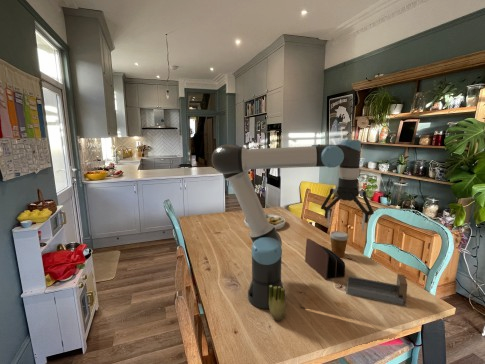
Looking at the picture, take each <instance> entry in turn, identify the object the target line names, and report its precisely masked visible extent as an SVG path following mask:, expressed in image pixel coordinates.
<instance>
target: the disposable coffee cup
mask: <svg viewBox="0 0 485 364" xmlns="http://www.w3.org/2000/svg"><path fill="white" fill-rule="evenodd" d="M329 238H330V243H331V251H332V252H334V253H335V254H336V255H337V256H338V257H340V258H342V257H345V255H346V248H347V243H348V239H349V235H348V233H346V232H344V231H338V230H334V231H333V230H332V231H331V232H330V234H329Z"/></svg>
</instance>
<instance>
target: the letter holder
mask: <svg viewBox="0 0 485 364" xmlns="http://www.w3.org/2000/svg"><path fill="white" fill-rule="evenodd" d="M304 262H305V263H307V265H308V266H309V267H311V268H312V270H313V271H315V272H317V274H319V276H321V277H322V278H323V280H325V281H330V280H337V279H343V278H345V277H346V263H345V261H344V260H343V259H342V257H338V256H337V255H336V254H335V253H334V252H332V249H331V250H330V249H329V248H328V247H326V246H323V245H321V244H319V243H318V242H316V241H315V240H312V239H311V238H308V237H307V238H306V244H305V256H304Z"/></svg>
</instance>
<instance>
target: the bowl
mask: <svg viewBox="0 0 485 364" xmlns="http://www.w3.org/2000/svg"><path fill="white" fill-rule="evenodd" d="M265 215H266V217H267V220H268V222H269V223H270V224H273V225H274V227H275V230H276V231H277V229H278V230H280V229H282V228H283V227H284V226H285V225H286V219H285V217H283V216H282V215H281V216H280V215H278V214H272V213H265ZM244 224H245V226H246V227H247V228H248V229H250V227H249V224H248V222H247V220H246V217H245V218H244Z"/></svg>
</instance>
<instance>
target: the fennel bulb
mask: <svg viewBox="0 0 485 364" xmlns="http://www.w3.org/2000/svg"><path fill="white" fill-rule="evenodd" d="M284 296H285V297H286V289H285V288H282V289H281V287H280V286H278V297H277V287H274V288H273V286H272V285H270V286H269V309H268V310H269V313H270V315H271V317H272V319H273V320H275V321H281V320H283V319H284V318H285V317H286V314H287V313H286V312H287V311H286V300H285V301H284Z"/></svg>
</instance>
